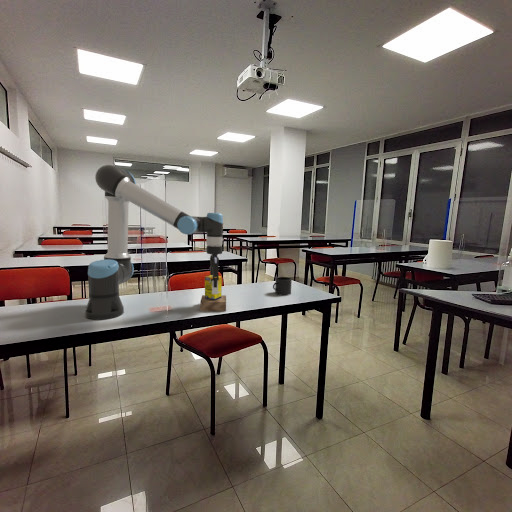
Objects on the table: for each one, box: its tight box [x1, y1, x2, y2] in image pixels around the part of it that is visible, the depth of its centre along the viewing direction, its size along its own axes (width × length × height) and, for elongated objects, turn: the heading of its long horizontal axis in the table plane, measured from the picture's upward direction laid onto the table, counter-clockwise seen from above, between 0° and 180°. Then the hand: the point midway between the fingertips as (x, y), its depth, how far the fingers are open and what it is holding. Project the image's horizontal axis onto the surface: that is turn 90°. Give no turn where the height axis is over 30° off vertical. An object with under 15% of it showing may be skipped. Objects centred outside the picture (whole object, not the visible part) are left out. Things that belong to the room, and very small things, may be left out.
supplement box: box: [204, 275, 223, 300], centre depth 146 cm, size 6×6×11 cm
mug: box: [272, 276, 292, 296], centre depth 177 cm, size 9×12×9 cm
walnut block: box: [199, 294, 227, 312], centre depth 147 cm, size 12×12×5 cm
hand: (213, 291), depth 146 cm, fingers open, 9 cm apart
